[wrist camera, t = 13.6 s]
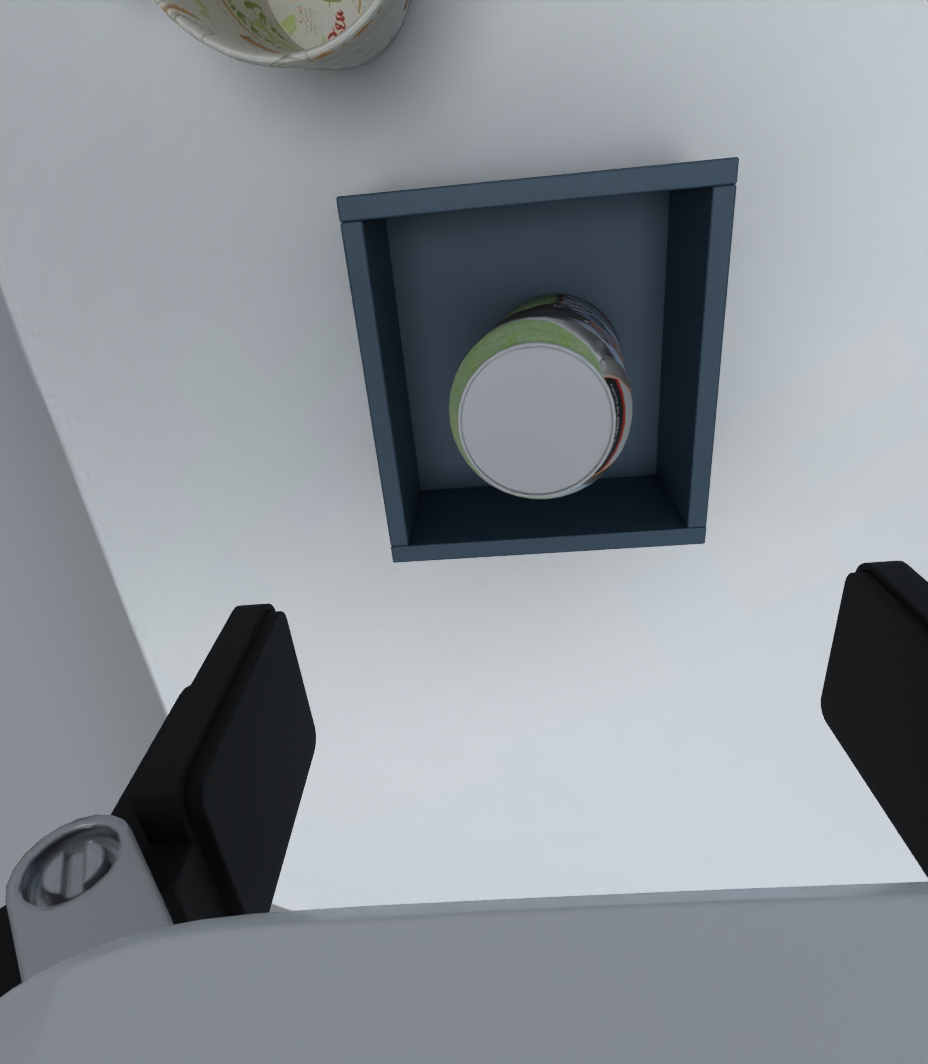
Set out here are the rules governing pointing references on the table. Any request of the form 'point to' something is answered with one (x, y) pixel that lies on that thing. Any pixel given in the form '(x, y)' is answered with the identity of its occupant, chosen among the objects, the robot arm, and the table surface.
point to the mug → (292, 29)
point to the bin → (502, 285)
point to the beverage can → (543, 399)
